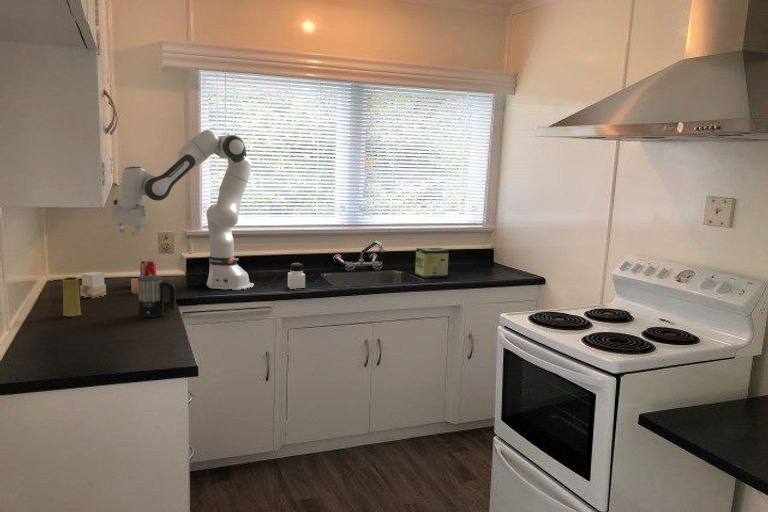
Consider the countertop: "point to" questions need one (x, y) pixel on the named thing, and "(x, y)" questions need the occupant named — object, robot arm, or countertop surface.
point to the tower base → (93, 291)
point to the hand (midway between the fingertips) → (128, 234)
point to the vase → (71, 297)
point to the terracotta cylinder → (134, 286)
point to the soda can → (147, 267)
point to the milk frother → (154, 296)
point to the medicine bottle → (296, 276)
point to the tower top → (93, 279)
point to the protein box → (431, 262)
